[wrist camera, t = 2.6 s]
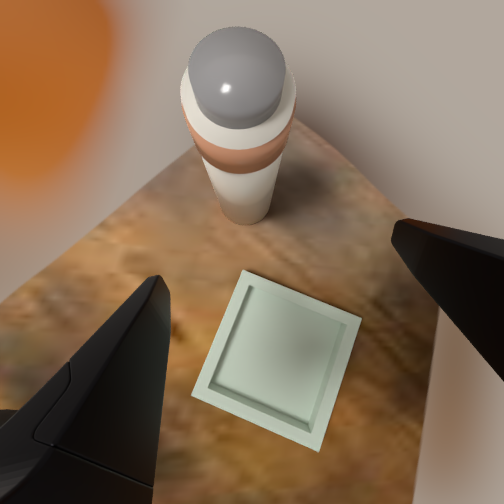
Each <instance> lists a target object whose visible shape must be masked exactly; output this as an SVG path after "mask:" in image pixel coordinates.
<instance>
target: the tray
mask: <svg viewBox="0 0 504 504" xmlns="http://www.w3.org/2000/svg"><path fill="white" fill-rule="evenodd" d="M361 320H362V318H360V317H358V316H355V315H353V314H350V313H348V312H345V311H343V310H340V309H338V308H335V307H333V306H331V305H328V304H326V303H323V302H321V301H318V300H316V299H313V298H311V297H309V296H306V295H304V294H301V293H299V292H296V291H294V290H291V289H289V288H286V287H284V286H282V285H279V284H277V283H274V282H272V281H269V280H267V279H264V278H262V277H259V276H257V275H255V274H252V273H250V272H247V271H245V270H243V271H242V273H241V276H240V278H239V281H238V283H237V285H236V288H235V290H234V293H233V295H232V298H231V300H230V302H229V305H228V307H227V310H226V312H225V315H224V317H223V319H222V322H221V324H220V327H219V329H218V331H217V334H216V336H215V339H214V341H213V344H212V346H211V348H210V351H209V353H208V356H207V358H206V361H205V363H204V365H203V368H202V370H201V373H200V375H199V378H198V380H197V382H196V385H195V387H194V390H193V392H192V395H191V396H193V397H196V398H198V399H200V400H202V401H205V402H207V403H209V404H211V405H214V406H216V407H218V408H220V409H223V410H225V411H227V412H229V413H232V414H234V415H236V416H238V417H241V418H243V419H245V420H248V421H250V422H252V423H254V424H257V425H259V426H261V427H263V428H266V429H268V430H270V431H272V432H275V433H277V434H279V435H281V436H284V437H286V438H288V439H290V440H293V441H295V442H297V443H299V444H302V445H304V446H306V447H308V448H311V449H313V450H315V451H317V452H319V450H320V447H321V444H322V441H323V438H324V434H325V431H326V428H327V425H328V422H329V419H330V416H331V413H332V410H333V407H334V403H335V400H336V397H337V394H338V391H339V388H340V385H341V382H342V379H343V376H344V372H345V369H346V366H347V363H348V360H349V357H350V354H351V351H352V348H353V345H354V341H355V338H356V335H357V332H358V329H359V326H360V323H361Z"/></svg>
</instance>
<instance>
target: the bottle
mask: <svg viewBox="0 0 504 504" xmlns="http://www.w3.org/2000/svg"><path fill="white" fill-rule="evenodd" d="M180 92H181V101H182V110H183V114H184V117H185V120H186V122H187V125H188V128H189V130H190V133H191V135H192V138H193V140H194V143H195V146H196V148H197V150H198V151H199V153H200V154H201V156H202V159H203V161H204V164H205V167H206V169H207V172H208V175H209V177H210V180H211V183H212V185H213V188H214V191H215V193H216V196H217V199H218V201H219V204H220V207H221V209H222V212H223V213H224V215H225V216H226V217H227V218H228V219H229V220H230V221H232V222H233V223H236V224H239V225H252V224H255V223H257V222H259V221H260V220H261V219H263V218H264V217H265V215H266V214H267V212H268V210H269V207H270V203H271V199H272V195H273V191H274V187H275V182H276V178H277V174H278V170H279V166H280V162H281V157H282V153H283V150H284V148H285V146H286V143H287V140H288V136H289V132H290V128H291V125H292V121H293V117H294V113H295V107H296V85H295V81H294V76H293V74H292V72H291V70H290V68H289V66H288V65H287V63H286V62H285V60H284V57H283V54H282V52H281V50H280V48H279V47H278V46H277V44H276V43H275V42H274V41H273V40H272V39H271V38H269V37H268V36H267V35H265V34H263V33H262V32H259V31H257V30H254V29H251V28H246V27H228V28H223V29H220V30H217V31H215V32H212V33H211V34H209V35H207V36H206V37H205V38H203V39H202V40H201V41H200V42H199V43H198V44H197V45H196V47H195V48H194V50H193V52H192V54H191V56H190V59H189V65H188V67H187V69H186V71H185V73H184V76H183V79H182V82H181V89H180Z"/></svg>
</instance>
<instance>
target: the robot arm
mask: <svg viewBox="0 0 504 504" xmlns="http://www.w3.org/2000/svg"><path fill="white" fill-rule="evenodd" d="M391 242H392V245H393V246H394V248H395V249H396V251H397V252H398V254H399V255H400V257H401V258H402V260H403V261H404V262H405V264H406V265H407V267H408V268H409V270H410V271H411V273H412V274H413V275H414V277H415V278H416V279H417V280H418V282H419V283H420V284H421V285H422V286H423V287H424V289H425V290H426V291H427V292H428V293H429V294H430V296H431V297H432V298H433V299H434V300H435V301H436V303H437V304H438V305H439V306H440V307H441V308H442V310H443V311H444V312H445V313H446V314H447V316H448V317H449V318H450V319H451V320H452V321H453V323H454V324H455V325H456V326H457V327H458V328H459V329H460V330H461V332H462V333H463V334H464V335H465V337H466V338H467V339H468V340H469V341H470V343H472V345H473V346H474V347H475V348H476V349H477V351H478V352H479V353H480V354H481V355H482V357H483V358H484V359H485V360H486V361H487V362H488V364H489V365H490V366H491V367H492V368H493V369H494V371H495V372H496V373H497V374H498V375H499V377H500V378H501V379H502V380H503V381H504V240H503V239H498V238H494V237H490V236H485V235H481V234H477V233H472V232H468V231H463V230H459V229H454V228H450V227H445V226H441V225H437V224H432V223H427V222H423V221H419V220H414V219H410V218H407V219H402V220H398V221H397V222H396V223H395V225H394V229H393V233H392V237H391ZM170 334H171V312H170V292H169V289H168V287H167V285H166V284H165V282H164V280H163V278H162V277H161V276H160V275H155V276H151V277H148V278H147V279H146V280H145V281H144V282H143V283H142V284H141V285H140V286H139V287H138V288H137V289H136V290H135V291H134V292H133V294H132V295H131V296H130V297H129V298H128V299H127V300H126V301H125V302H124V303H123V304H122V305H121V306H120V307H119V308H118V309H117V310H116V311H115V312H114V313H113V314H112V315H111V317H110V318H109V319H108V320H107V321H106V322H105V323H104V324H103V325H102V326H101V327H100V328H99V329H98V330H97V331H96V332H95V333H94V334H93V335H92V336H91V337H90V338H89V339H88V341H87V342H86V343H85V344H84V345H83V346H82V347H81V348H80V349H79V350H78V351H77V352H76V353H75V354H74V355H73V356H72V357H71V358H70V360H69V362H66V363H65V364H64V365H63V367H62V368H61V369H60V370H59V371H58V372H57V373H56V374H55V375H54V376H53V377H52V378H51V379H50V380H49V381H48V382H47V383H46V384H45V385H44V386H43V387H42V388H41V389H40V390H39V391H38V392H37V393H36V394H35V395H34V396H33V397H32V398H31V399H30V400H29V401H28V402H27V403H26V404H25V405H24V406H23V407H22V408H20V409H19V410H18V411H17V412H16V413H15V414H14V415H13V416H12V417H11V418H10V419H9V420H8V421H7V422H6V423H5V424H4V425H3V426H1V427H0V504H152V497H153V488H152V487H153V486H154V478H155V469H156V460H157V451H158V442H159V433H160V424H161V415H162V406H163V397H164V389H165V380H166V371H167V362H168V353H169V344H170Z"/></svg>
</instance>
